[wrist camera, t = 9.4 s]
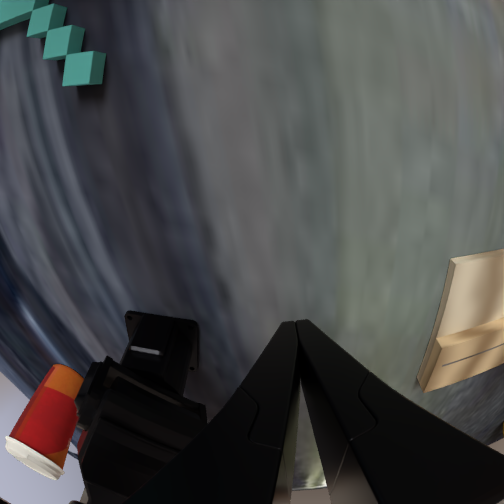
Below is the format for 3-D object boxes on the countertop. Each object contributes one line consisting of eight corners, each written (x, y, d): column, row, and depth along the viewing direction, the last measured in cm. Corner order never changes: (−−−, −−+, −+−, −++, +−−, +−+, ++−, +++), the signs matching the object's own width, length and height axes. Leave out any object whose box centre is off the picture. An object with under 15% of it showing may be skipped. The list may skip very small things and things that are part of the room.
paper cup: (66, 394, 33) (33, 472, 20) (36, 356, 29) (-10, 438, 17) (106, 398, 32) (75, 488, 20) (75, 358, 28) (27, 456, 16)
